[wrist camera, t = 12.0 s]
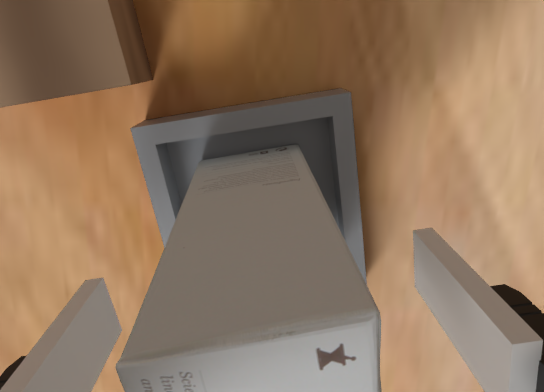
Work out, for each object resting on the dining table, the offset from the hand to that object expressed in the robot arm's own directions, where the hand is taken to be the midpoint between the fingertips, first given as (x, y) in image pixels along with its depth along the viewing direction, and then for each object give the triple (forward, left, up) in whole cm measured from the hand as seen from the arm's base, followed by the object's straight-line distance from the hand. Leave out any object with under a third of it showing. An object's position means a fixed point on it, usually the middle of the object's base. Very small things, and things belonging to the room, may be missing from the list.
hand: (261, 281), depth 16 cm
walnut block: (+8, -12, -8) cm, 16 cm away
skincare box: (0, 0, -7) cm, 7 cm away
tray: (0, 0, -8) cm, 8 cm away
